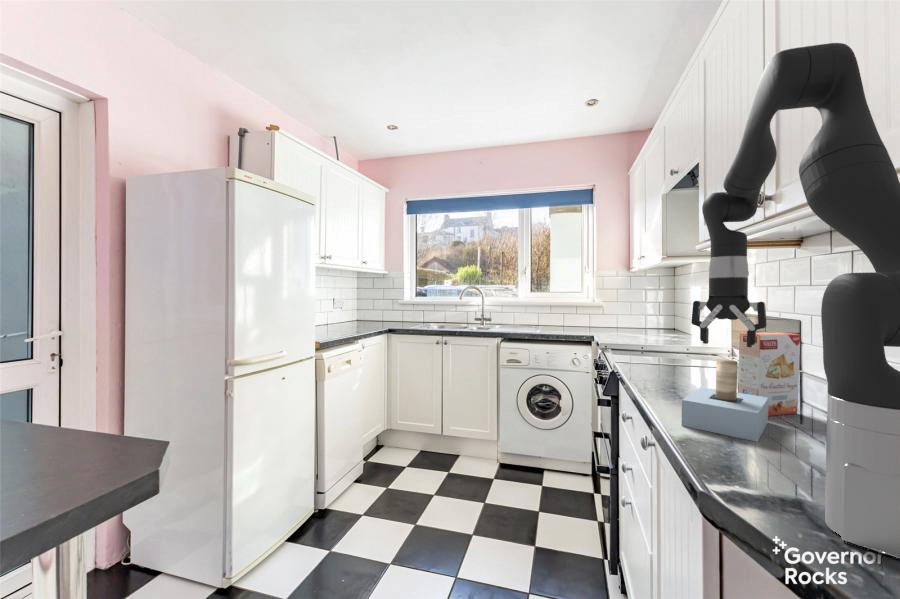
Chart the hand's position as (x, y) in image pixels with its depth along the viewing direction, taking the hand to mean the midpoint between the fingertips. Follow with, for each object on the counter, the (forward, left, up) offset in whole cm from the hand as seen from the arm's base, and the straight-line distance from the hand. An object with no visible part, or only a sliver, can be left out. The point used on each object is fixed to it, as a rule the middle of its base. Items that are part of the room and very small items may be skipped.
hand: (727, 345), depth 92 cm
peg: (0, 0, -18) cm, 18 cm away
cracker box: (+19, -6, -19) cm, 28 cm away
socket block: (0, 0, -19) cm, 19 cm away
